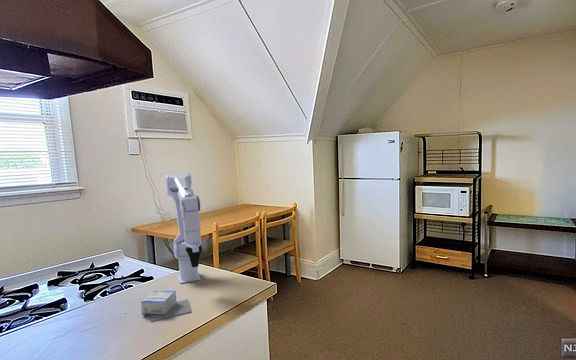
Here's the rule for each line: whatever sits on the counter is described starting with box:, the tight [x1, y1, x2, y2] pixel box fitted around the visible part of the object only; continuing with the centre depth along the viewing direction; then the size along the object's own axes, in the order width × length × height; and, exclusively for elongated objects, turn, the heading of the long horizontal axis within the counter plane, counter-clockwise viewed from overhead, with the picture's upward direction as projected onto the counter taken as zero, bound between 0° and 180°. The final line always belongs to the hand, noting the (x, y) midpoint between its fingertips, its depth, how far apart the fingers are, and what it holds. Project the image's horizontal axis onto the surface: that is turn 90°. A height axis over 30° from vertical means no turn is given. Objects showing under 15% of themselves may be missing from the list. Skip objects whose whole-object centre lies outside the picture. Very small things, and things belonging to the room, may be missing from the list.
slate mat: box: [150, 299, 192, 323], centre depth 107 cm, size 10×12×1 cm
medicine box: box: [140, 290, 178, 316], centre depth 108 cm, size 8×4×9 cm
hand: (195, 266), depth 119 cm, fingers closed
